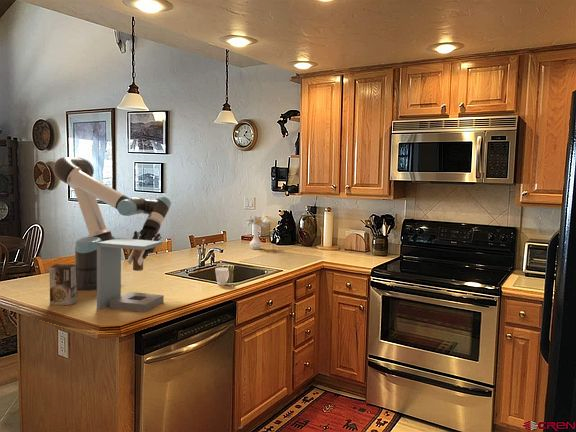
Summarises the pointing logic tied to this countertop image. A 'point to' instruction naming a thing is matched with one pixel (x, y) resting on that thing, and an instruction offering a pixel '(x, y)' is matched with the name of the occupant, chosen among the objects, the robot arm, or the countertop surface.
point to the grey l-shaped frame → (114, 266)
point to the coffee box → (63, 284)
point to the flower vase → (256, 231)
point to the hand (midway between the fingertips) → (133, 263)
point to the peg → (135, 258)
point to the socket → (136, 301)
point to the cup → (222, 275)
